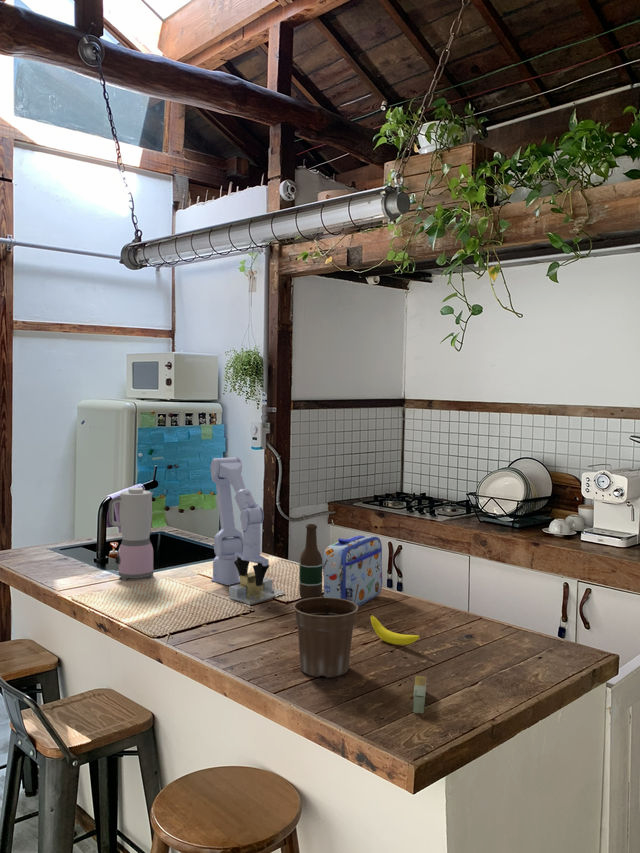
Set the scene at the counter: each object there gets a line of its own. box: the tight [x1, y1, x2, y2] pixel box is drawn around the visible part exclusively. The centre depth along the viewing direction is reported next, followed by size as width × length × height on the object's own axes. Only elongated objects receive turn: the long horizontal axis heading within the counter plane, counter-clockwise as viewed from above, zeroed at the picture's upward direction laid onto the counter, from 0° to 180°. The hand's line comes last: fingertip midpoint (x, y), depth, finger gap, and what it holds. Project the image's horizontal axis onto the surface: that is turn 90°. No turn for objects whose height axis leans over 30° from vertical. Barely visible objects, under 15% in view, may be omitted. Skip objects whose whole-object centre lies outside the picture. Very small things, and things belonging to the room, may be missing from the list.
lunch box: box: [322, 535, 383, 607], centre depth 241 cm, size 28×10×22 cm, turn 149°
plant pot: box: [292, 596, 359, 678], centre depth 186 cm, size 16×16×16 cm
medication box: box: [411, 675, 427, 714], centre depth 169 cm, size 12×3×4 cm, turn 171°
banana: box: [368, 613, 421, 646], centre depth 205 cm, size 3×19×6 cm, turn 40°
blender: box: [108, 487, 155, 582], centre depth 267 cm, size 16×12×32 cm
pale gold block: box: [228, 571, 261, 595], centre depth 251 cm, size 10×6×6 cm, turn 48°
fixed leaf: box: [228, 577, 286, 606], centre depth 247 cm, size 10×16×4 cm, turn 138°
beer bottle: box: [298, 523, 323, 599], centre depth 248 cm, size 8×8×24 cm
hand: (251, 583), depth 249 cm, fingers open, 7 cm apart
